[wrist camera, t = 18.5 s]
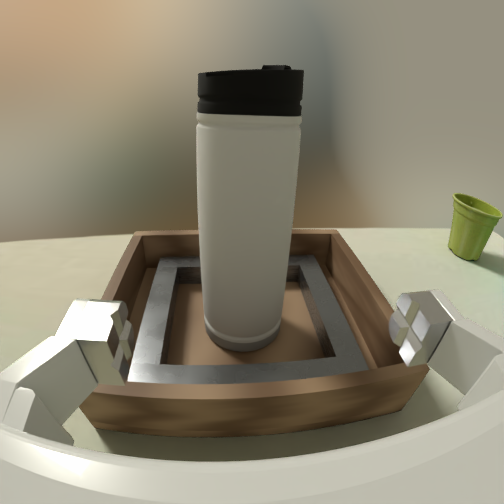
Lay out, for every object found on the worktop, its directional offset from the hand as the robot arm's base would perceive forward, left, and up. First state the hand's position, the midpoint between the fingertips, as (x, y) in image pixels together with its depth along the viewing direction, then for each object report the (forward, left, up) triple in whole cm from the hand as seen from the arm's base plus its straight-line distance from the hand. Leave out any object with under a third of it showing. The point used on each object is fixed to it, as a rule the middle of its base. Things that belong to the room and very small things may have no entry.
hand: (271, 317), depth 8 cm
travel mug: (0, +12, -12) cm, 17 cm away
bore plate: (0, +12, -13) cm, 18 cm away
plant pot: (+37, +25, -13) cm, 47 cm away
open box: (0, +12, -13) cm, 18 cm away
